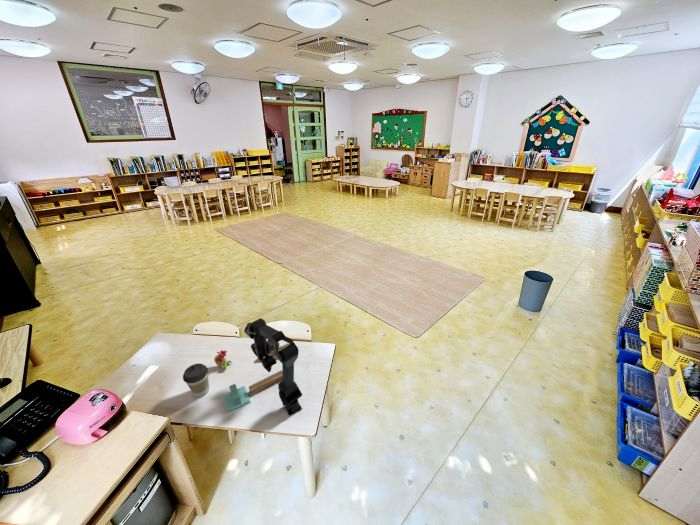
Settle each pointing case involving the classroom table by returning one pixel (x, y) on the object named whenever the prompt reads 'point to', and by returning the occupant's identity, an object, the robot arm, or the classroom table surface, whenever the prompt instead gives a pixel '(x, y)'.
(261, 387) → the walnut bar
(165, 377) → the classroom table surface
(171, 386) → the classroom table surface
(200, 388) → the coffee cup
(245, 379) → the classroom table surface
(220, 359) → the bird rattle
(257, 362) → the wooden fragment
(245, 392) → the fulcrum block
